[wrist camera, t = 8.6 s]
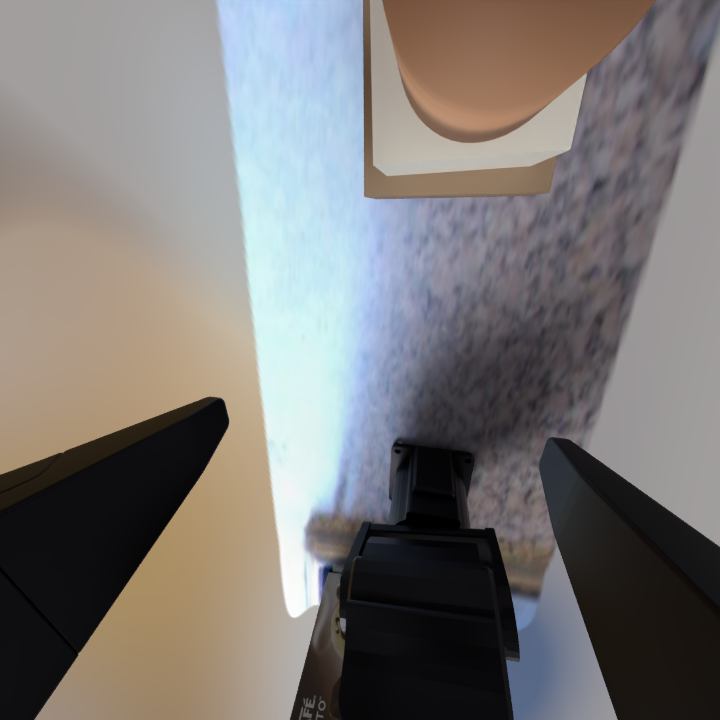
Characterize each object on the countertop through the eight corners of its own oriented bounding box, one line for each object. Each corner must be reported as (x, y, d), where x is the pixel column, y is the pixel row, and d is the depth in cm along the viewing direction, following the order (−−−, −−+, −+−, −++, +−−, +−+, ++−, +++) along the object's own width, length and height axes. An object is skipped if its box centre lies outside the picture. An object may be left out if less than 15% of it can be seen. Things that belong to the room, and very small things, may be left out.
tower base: (523, 196, 16) (548, 192, 13) (376, 199, 18) (364, 196, 14) (565, -19, 13) (617, -105, 9) (378, 7, 14) (362, -59, 11)
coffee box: (337, 600, 38) (284, 830, 24) (327, 569, 36) (261, 807, 21) (410, 612, 36) (398, 872, 22) (405, 579, 33) (388, 852, 19)
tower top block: (531, 166, 13) (570, 149, 9) (387, 176, 14) (372, 164, 10) (568, -49, 10) (644, -190, 6) (386, -14, 11) (367, -116, 8)
